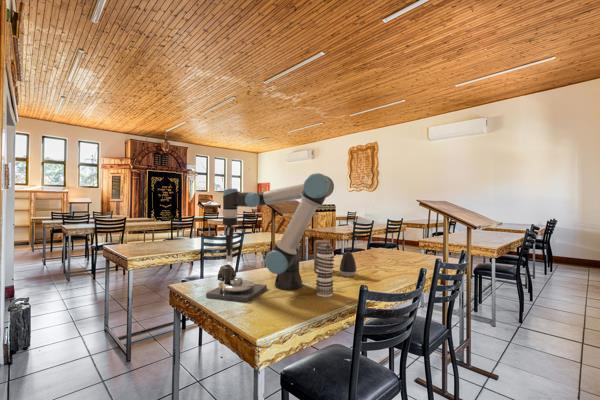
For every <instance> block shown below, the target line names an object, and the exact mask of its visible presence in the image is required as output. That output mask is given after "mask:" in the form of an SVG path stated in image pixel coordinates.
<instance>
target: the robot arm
mask: <svg viewBox="0 0 600 400" xmlns="http://www.w3.org/2000/svg"><path fill="white" fill-rule="evenodd" d="M334 189H335V184H334V181H333V179H332V178H331V177H330V176H327V175H325V174H322V173H319V172H318V173H312V174H310V175H308V176H307V177H306V178H305V180H304V182H303V183H302V184H296V185H292V186H287V187H280V188H276V189H272V190H266V191H260V192H253V191H250V192H244V191H243V192H240V191H238V189H237V188H228V187H227V188H224V189H223V195H222V211H221V213H222V217H223V218H222V225H223V226H226V228H225V248H224V250H226V255H225V256H226V260H225V261H226V262H227V263H230V262H233V249H234V245H233V244H234V243H233V241H234V232H235V228H234V226H236V225H237V224H238V218H237V217H238V207H245V208H248V207H249V208H254V207H255V208H257V207H263V206H267V205H272V204H273V205H274V204H278V203H283V202H290V201H295V200H300V201H299V204H298V206H297V208H296V210H295V212H294V213H293V215H292V217H291V219H290V221H289V223H288V225H287V227H286V229H285V231H284V233H283V235H282V237H281V239H280V240H278V241H276V242H275V244H274V246H273V248H272V249H271V251H269V252H268V253H267V254H266V256H265V259H264V264H265V267H266V269H267V270H268V271H269V272H271V273H272V274H275V275H276V277H275V279H274V287H275V288H277V289H280V290H297V289H300V288H302V287H303V281H302V276H301V274H300V273H301V272H300V245H299V243H300V241H301V239H302V237H303V235H304V234H305V231H306V230H307V228H308V226H309V224H310V222H311V220H312V218H313V217H314V215H315V213H316V210H317V209H318V208H319V207H322V206H323V204H324V202H325V200H326V199H327V198H328V197H330V196H331V195H332V194H333V192H334Z"/></svg>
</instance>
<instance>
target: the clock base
mask: <svg viewBox="0 0 600 400" xmlns="http://www.w3.org/2000/svg"><path fill="white" fill-rule="evenodd" d="M223 282H224V281H218V287H216V288H214V289H211V290H210V291H208V292H206V293H205V298H207V299H208V298H209V299H218V300H225V301H233V302H234V301H235V302H241V303H249V302H250V301H251V300H253V299H254V298H256V297H257V296H259V295H260V294H261V293H263V292H264V291H266V290H267V289H268V285H267V284H260V283H254V288H253V289H251V290H248V291H243V292H228V291H224V290H223Z"/></svg>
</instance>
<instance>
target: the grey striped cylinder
mask: <svg viewBox="0 0 600 400" xmlns="http://www.w3.org/2000/svg"><path fill="white" fill-rule="evenodd" d="M319 244H330V245H331V241H330V240H328V239H327V240H326V239H324V240H323V239H316V240H315V241H314V243H313V246H314V247H313V250H314V251H313V272H314V273H317V271H316V270H317V269H316V266H317V265H316V259H317V258H316V255H317V253H318V251H317V250H318V248H317V247H318V246H319ZM317 257H318V256H317ZM317 264H318V263H317Z"/></svg>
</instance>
